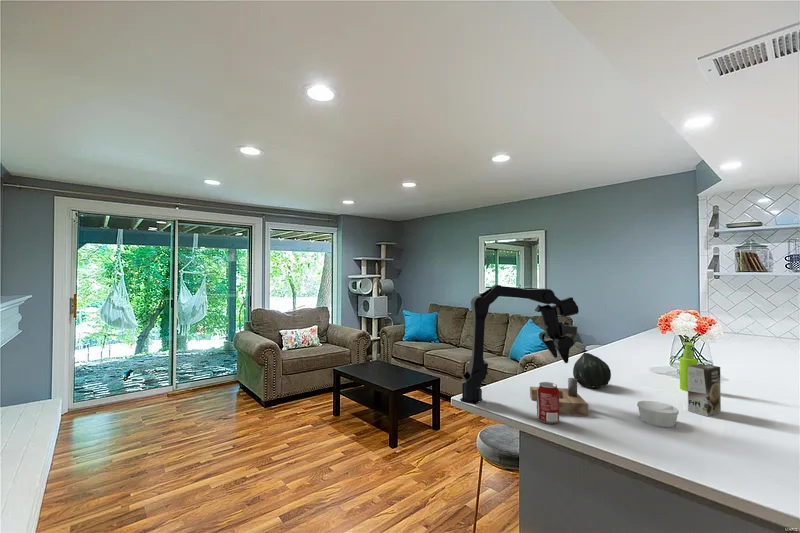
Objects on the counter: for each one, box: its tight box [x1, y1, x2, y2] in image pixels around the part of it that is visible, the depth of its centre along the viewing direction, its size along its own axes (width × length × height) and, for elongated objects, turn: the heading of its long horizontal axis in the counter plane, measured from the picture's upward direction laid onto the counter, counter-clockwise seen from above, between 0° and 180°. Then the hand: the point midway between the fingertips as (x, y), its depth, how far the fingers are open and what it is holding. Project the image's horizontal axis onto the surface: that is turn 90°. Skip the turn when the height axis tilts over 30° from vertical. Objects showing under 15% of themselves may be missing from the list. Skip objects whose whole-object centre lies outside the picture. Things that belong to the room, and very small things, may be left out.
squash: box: [572, 352, 612, 389], centre depth 163 cm, size 14×15×15 cm
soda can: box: [536, 381, 560, 425], centre depth 123 cm, size 7×7×12 cm
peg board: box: [529, 377, 589, 417], centre depth 138 cm, size 16×17×10 cm
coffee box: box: [687, 363, 722, 417], centre depth 133 cm, size 9×6×16 cm
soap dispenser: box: [679, 341, 698, 392], centre depth 158 cm, size 6×7×20 cm
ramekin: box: [636, 400, 680, 428], centre depth 123 cm, size 11×11×5 cm
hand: (561, 360), depth 144 cm, fingers open, 9 cm apart
